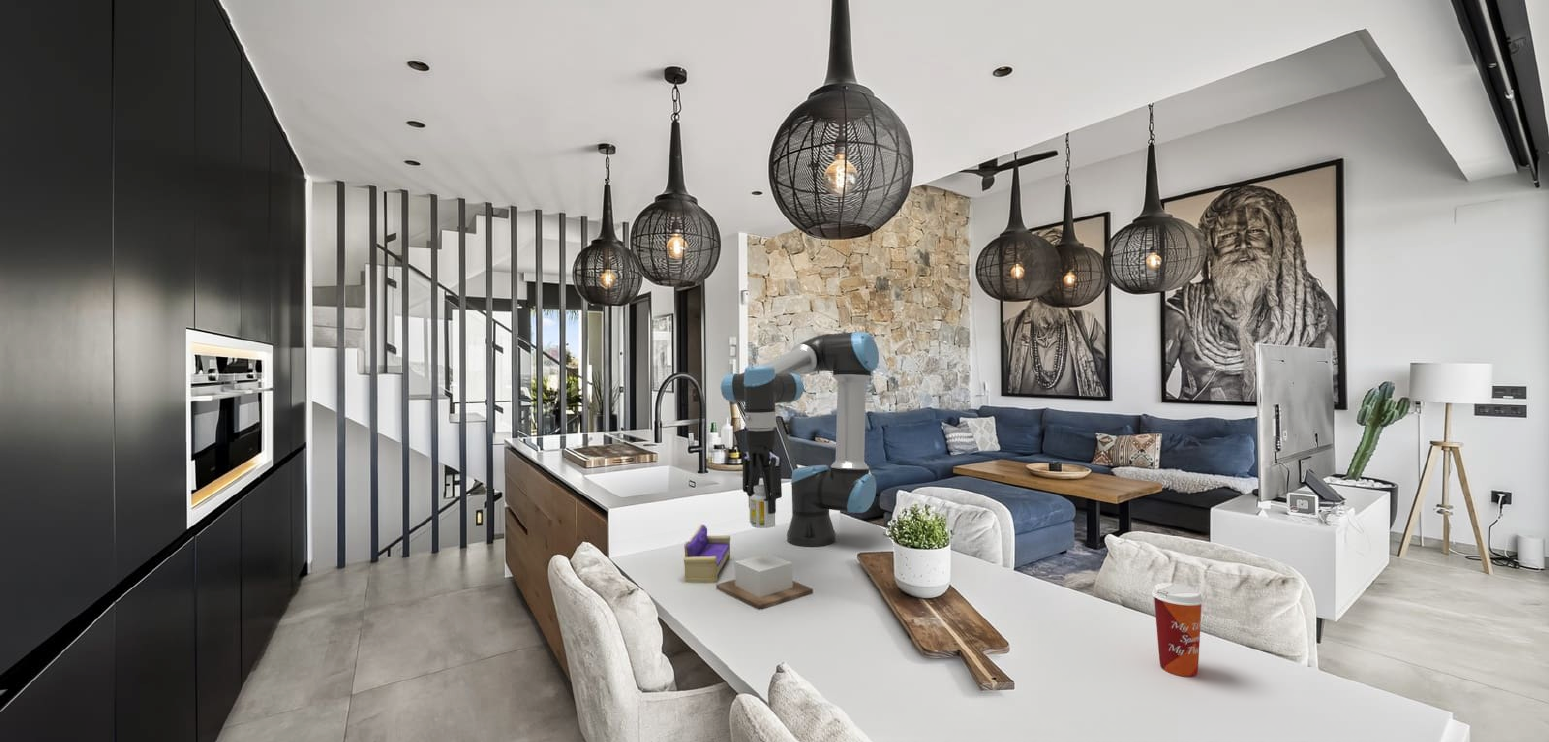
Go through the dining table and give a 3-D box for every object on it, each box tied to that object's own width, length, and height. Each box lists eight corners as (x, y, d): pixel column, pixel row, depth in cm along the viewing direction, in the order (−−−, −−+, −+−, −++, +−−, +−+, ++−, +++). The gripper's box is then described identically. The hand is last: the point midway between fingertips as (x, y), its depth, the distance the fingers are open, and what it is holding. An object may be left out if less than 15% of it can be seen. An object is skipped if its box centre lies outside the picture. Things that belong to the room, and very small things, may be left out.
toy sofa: (717, 584, 159) (716, 544, 159) (683, 583, 160) (682, 543, 160) (731, 558, 180) (730, 523, 180) (701, 558, 181) (701, 523, 181)
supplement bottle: (747, 527, 152) (746, 487, 152) (757, 522, 156) (756, 483, 156) (767, 529, 149) (767, 488, 149) (776, 523, 154) (776, 484, 154)
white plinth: (767, 577, 160) (767, 553, 160) (792, 587, 152) (792, 562, 152) (735, 586, 154) (734, 561, 154) (759, 597, 146) (759, 571, 146)
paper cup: (1181, 683, 105) (1179, 600, 105) (1142, 662, 113) (1141, 585, 113) (1216, 675, 108) (1215, 594, 108) (1176, 656, 115) (1175, 580, 115)
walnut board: (767, 574, 165) (767, 570, 165) (812, 593, 151) (812, 589, 151) (716, 588, 155) (716, 584, 155) (759, 610, 141) (759, 605, 141)
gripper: (726, 428, 158) (728, 520, 158) (771, 433, 143) (773, 534, 143) (751, 425, 162) (752, 515, 162) (796, 430, 148) (798, 529, 148)
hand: (762, 524), depth 153 cm, fingers closed on supplement bottle, 5 cm apart
